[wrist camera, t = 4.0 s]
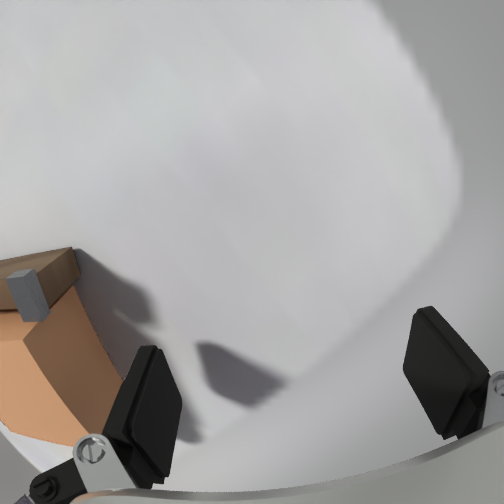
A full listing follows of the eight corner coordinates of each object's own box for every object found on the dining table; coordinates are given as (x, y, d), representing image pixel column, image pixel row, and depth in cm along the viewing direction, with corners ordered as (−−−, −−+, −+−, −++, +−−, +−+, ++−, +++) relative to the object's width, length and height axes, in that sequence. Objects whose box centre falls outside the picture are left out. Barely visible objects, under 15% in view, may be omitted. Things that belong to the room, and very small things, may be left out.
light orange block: (-11, 302, 11) (-54, 341, 7) (73, 284, 11) (22, 340, 7) (38, 386, 13) (11, 431, 10) (128, 389, 13) (105, 451, 9)
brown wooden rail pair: (-50, 268, 10) (-83, 291, 7) (70, 241, 10) (23, 276, 7) (20, 403, 14) (2, 433, 11) (148, 422, 14) (136, 467, 11)
